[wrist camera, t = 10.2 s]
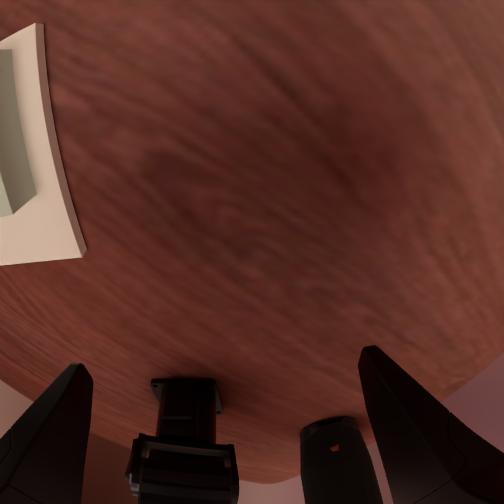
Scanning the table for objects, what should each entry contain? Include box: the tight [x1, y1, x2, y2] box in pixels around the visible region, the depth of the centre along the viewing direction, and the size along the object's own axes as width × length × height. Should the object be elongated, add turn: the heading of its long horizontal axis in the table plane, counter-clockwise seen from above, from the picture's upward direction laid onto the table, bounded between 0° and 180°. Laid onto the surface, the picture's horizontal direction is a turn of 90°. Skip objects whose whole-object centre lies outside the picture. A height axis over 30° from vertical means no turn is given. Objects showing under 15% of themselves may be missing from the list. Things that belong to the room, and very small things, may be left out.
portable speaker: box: [300, 417, 383, 504], centre depth 28 cm, size 9×9×20 cm
